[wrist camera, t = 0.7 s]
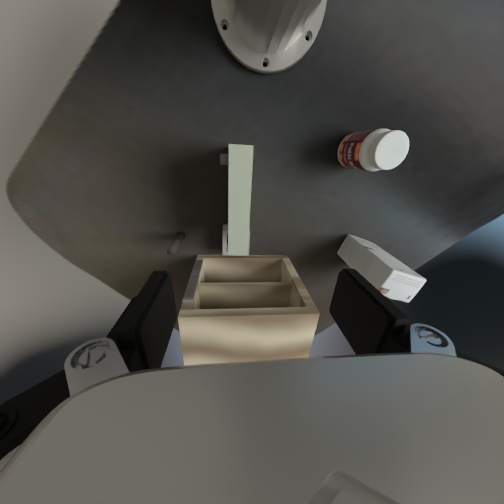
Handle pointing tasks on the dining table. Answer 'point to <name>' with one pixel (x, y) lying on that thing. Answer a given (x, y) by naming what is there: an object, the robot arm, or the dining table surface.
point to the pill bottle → (373, 149)
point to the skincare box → (381, 269)
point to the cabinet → (244, 309)
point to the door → (238, 199)
